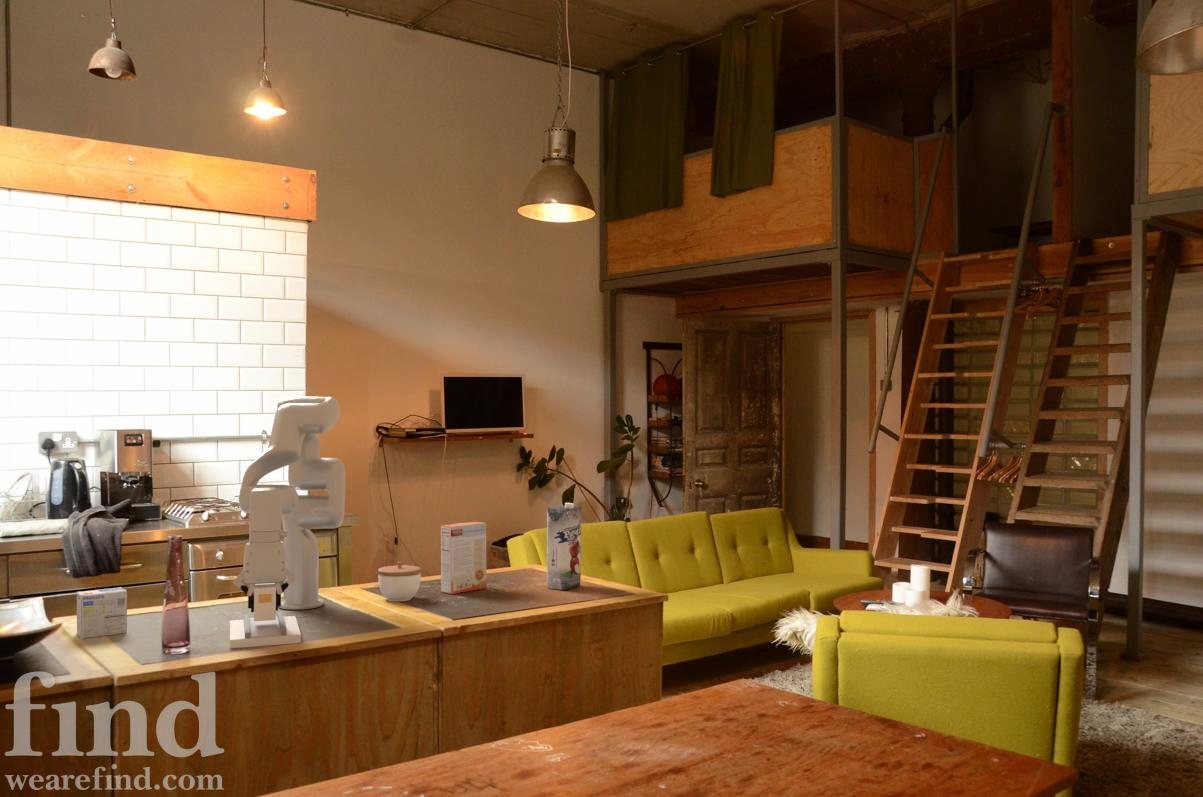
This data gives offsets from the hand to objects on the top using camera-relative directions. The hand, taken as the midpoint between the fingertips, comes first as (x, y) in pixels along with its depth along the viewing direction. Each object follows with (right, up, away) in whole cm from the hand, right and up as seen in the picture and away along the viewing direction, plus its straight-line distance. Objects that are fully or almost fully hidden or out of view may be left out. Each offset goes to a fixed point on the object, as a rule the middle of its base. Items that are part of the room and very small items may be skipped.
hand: (264, 609), depth 238 cm
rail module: (0, -2, 0) cm, 2 cm away
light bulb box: (-41, -7, +1) cm, 42 cm away
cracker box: (+41, -8, +60) cm, 73 cm away
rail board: (0, -6, 0) cm, 6 cm away
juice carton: (+72, -8, +66) cm, 98 cm away
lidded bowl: (+24, -7, +46) cm, 52 cm away
